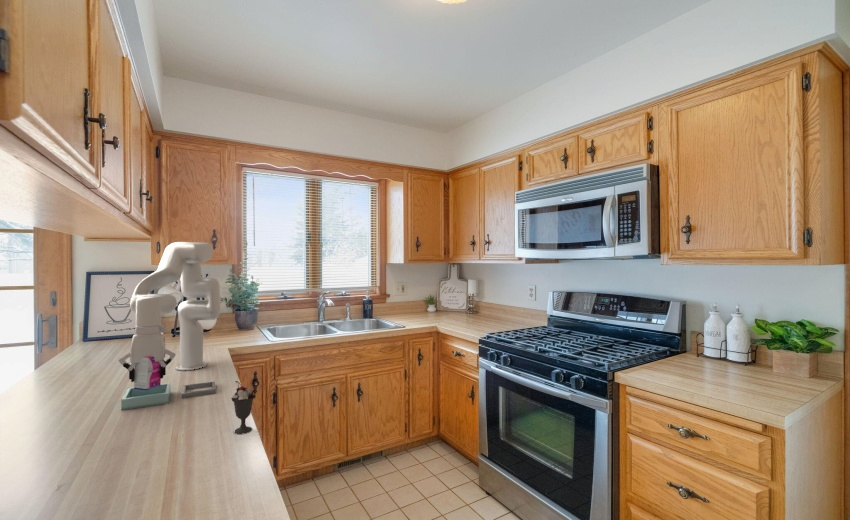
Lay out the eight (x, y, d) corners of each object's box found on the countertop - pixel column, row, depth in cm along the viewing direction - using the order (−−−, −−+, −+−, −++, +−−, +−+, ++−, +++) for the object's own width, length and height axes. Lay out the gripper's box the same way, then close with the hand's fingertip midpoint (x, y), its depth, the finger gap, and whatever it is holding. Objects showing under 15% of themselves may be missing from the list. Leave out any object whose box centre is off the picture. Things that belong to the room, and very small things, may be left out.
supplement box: (147, 390, 136) (147, 357, 136) (133, 389, 137) (133, 357, 137) (161, 385, 141) (161, 354, 142) (148, 384, 143) (148, 353, 143)
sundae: (226, 430, 116) (227, 380, 116) (249, 424, 120) (250, 375, 121) (235, 437, 111) (236, 385, 111) (258, 430, 116) (259, 380, 116)
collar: (182, 389, 152) (182, 385, 152) (214, 385, 157) (214, 381, 157) (181, 397, 142) (181, 393, 142) (215, 393, 148) (215, 389, 148)
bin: (127, 398, 142) (127, 388, 142) (170, 392, 148) (170, 382, 148) (121, 410, 130) (121, 399, 130) (168, 403, 137) (168, 393, 137)
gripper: (177, 327, 147) (176, 373, 147) (119, 330, 138) (118, 380, 138) (176, 330, 141) (175, 378, 140) (115, 334, 132) (115, 385, 132)
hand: (147, 379), depth 139 cm, fingers closed on supplement box, 8 cm apart
